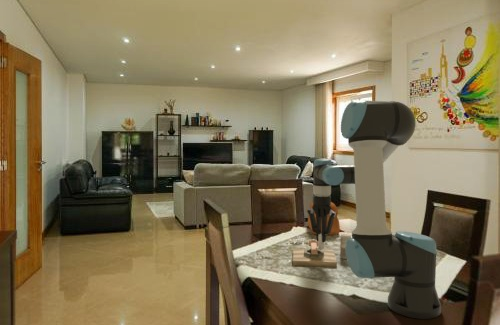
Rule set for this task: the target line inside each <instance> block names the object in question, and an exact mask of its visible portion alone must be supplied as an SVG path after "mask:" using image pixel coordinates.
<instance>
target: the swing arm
mask: <svg viewBox="0 0 500 325" xmlns="http://www.w3.org/2000/svg"><path fill="white" fill-rule="evenodd" d="M308 246H309V247H310V249H311V253H312V254H317V249H318V241H317V239H314V238H313V239H309V240H308Z"/></svg>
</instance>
